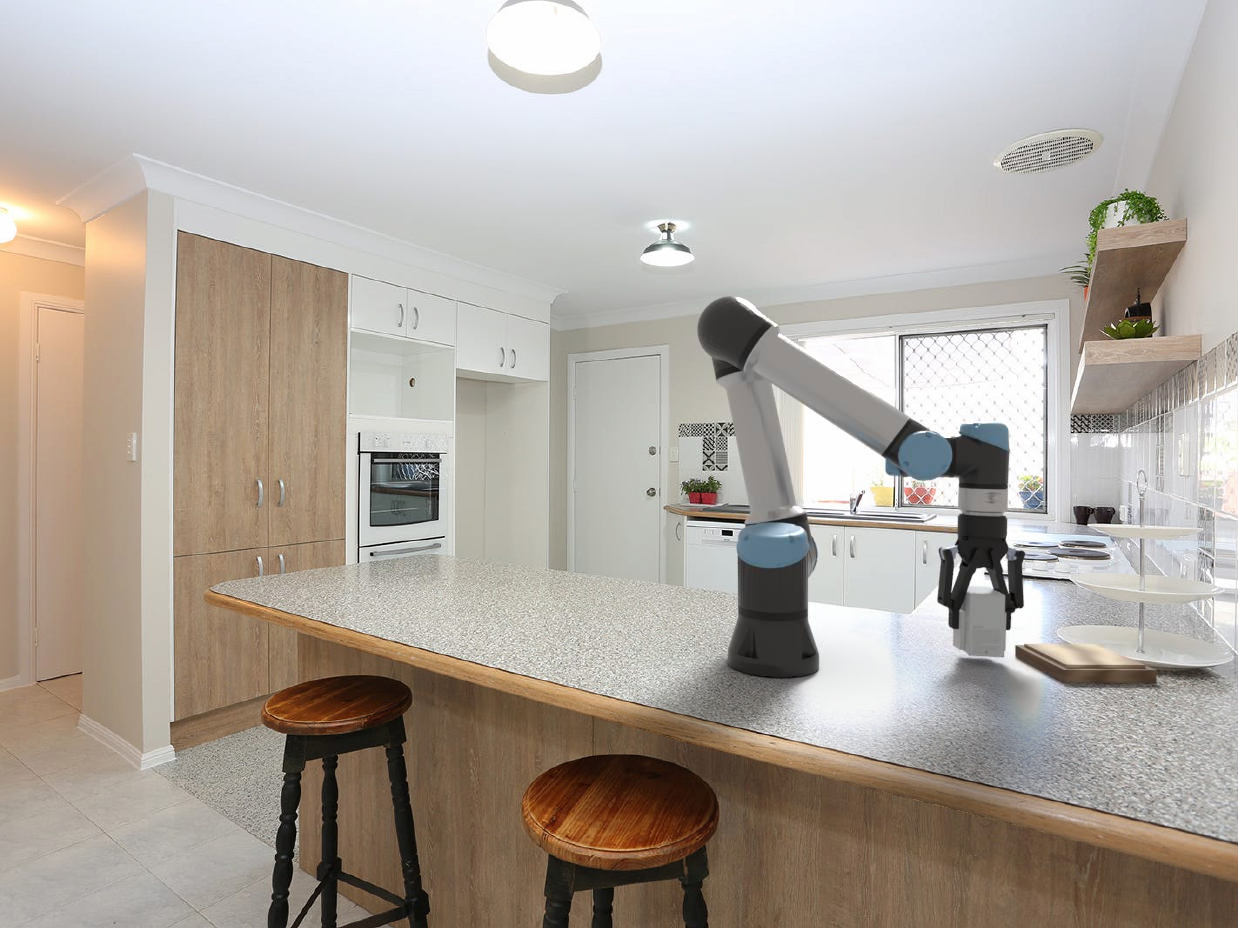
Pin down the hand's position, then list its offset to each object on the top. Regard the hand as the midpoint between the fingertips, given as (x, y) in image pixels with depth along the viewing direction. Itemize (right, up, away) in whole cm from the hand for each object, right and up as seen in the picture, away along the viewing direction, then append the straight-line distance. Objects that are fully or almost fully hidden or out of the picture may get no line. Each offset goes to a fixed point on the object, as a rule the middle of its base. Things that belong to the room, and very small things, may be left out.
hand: (978, 647), depth 119 cm
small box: (0, -1, 0) cm, 1 cm away
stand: (+14, -2, -5) cm, 15 cm away
